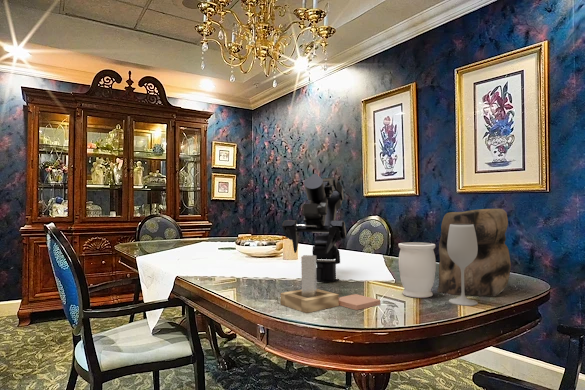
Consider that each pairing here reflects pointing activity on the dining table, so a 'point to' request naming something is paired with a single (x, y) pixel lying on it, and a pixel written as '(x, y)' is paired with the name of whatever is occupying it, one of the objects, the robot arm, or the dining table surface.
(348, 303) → the coaster
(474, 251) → the wineglass
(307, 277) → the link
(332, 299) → the brown square tray
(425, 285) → the jar
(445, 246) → the brown mottled lumpy block
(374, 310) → the dining table surface
